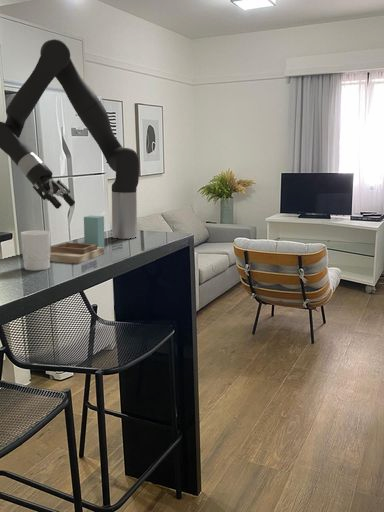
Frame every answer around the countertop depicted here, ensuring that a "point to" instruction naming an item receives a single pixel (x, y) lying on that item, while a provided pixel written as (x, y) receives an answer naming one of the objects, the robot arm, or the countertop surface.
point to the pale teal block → (94, 230)
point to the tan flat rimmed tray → (74, 252)
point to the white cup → (36, 249)
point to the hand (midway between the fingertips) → (66, 205)
